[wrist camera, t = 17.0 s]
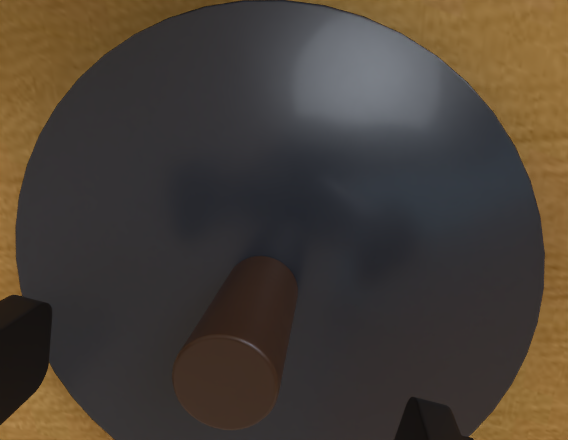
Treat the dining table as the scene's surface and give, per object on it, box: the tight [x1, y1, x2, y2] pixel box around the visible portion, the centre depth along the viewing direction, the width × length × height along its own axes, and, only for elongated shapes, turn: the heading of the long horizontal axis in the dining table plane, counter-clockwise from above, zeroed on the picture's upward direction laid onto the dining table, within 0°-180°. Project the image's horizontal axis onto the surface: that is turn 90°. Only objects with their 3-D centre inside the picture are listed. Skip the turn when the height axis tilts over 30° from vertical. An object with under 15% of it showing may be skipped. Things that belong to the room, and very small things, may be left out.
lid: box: [16, 0, 545, 440], centre depth 12 cm, size 18×18×6 cm
